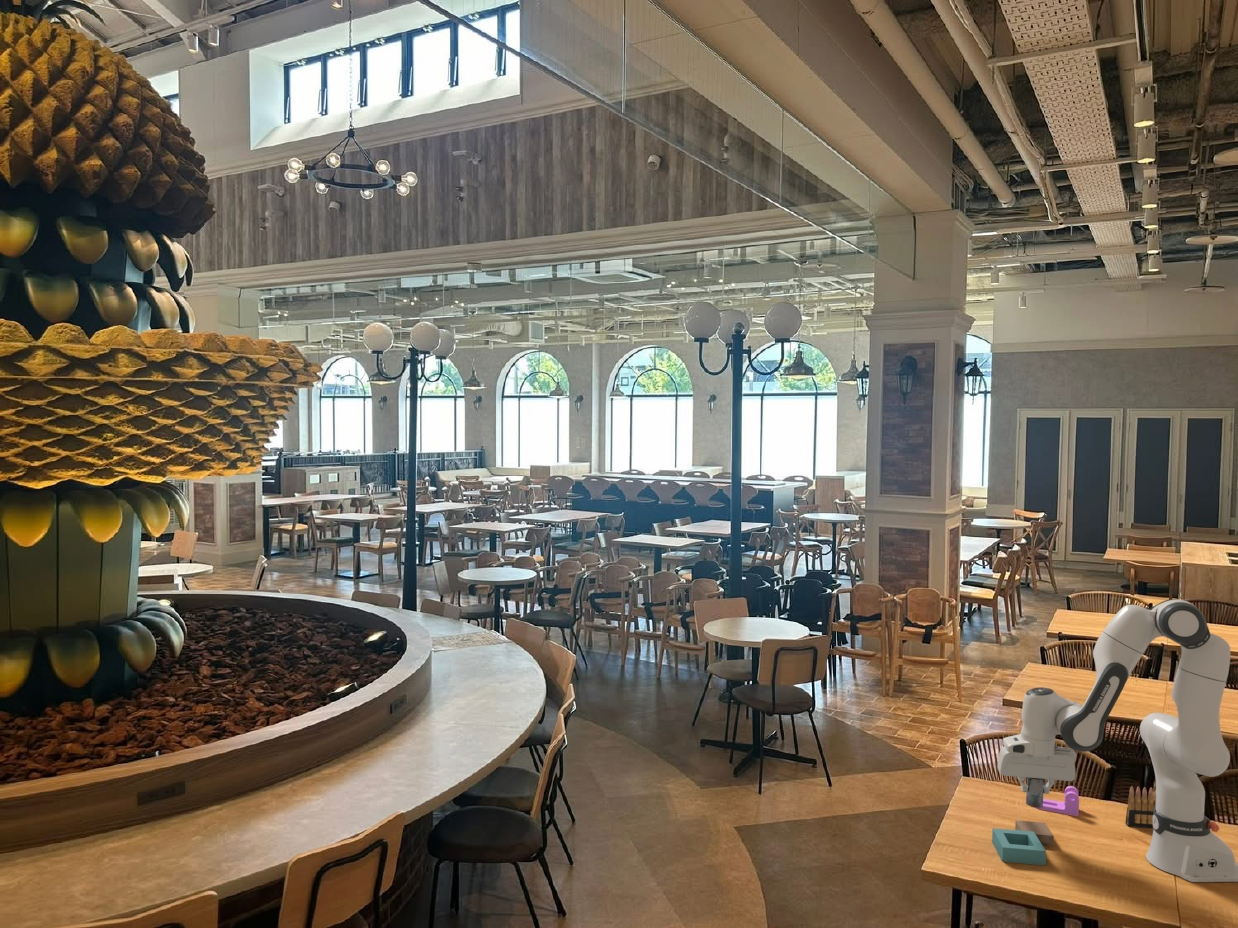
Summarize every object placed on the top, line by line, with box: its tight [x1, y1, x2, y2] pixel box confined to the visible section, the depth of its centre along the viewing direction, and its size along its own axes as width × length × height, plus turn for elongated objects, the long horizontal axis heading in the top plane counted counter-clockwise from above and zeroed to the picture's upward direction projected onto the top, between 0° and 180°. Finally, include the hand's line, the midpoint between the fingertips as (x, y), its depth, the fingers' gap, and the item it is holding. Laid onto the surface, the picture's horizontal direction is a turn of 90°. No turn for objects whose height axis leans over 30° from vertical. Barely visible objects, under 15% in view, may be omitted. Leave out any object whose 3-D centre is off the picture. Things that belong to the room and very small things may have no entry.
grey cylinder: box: [1025, 777, 1045, 809], centre depth 252 cm, size 4×4×8 cm
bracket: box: [1036, 785, 1080, 817], centre depth 271 cm, size 13×6×7 cm, turn 64°
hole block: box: [991, 827, 1047, 866], centre depth 244 cm, size 11×11×4 cm
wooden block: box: [1014, 820, 1055, 847], centre depth 252 cm, size 8×8×3 cm
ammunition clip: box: [1125, 785, 1156, 829], centre depth 260 cm, size 11×2×12 cm, turn 82°
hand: (1034, 791), depth 252 cm, fingers closed on grey cylinder, 4 cm apart
